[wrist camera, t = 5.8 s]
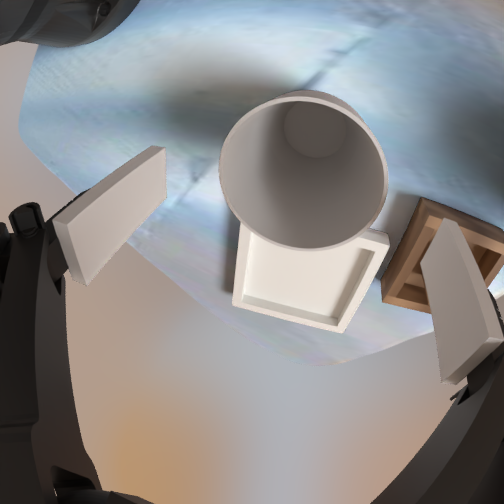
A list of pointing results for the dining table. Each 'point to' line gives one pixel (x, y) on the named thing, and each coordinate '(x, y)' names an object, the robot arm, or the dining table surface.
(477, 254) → the brown wooden tray
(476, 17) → the dining table surface
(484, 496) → the robot arm
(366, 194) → the cup
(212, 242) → the dining table surface
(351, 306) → the tray
